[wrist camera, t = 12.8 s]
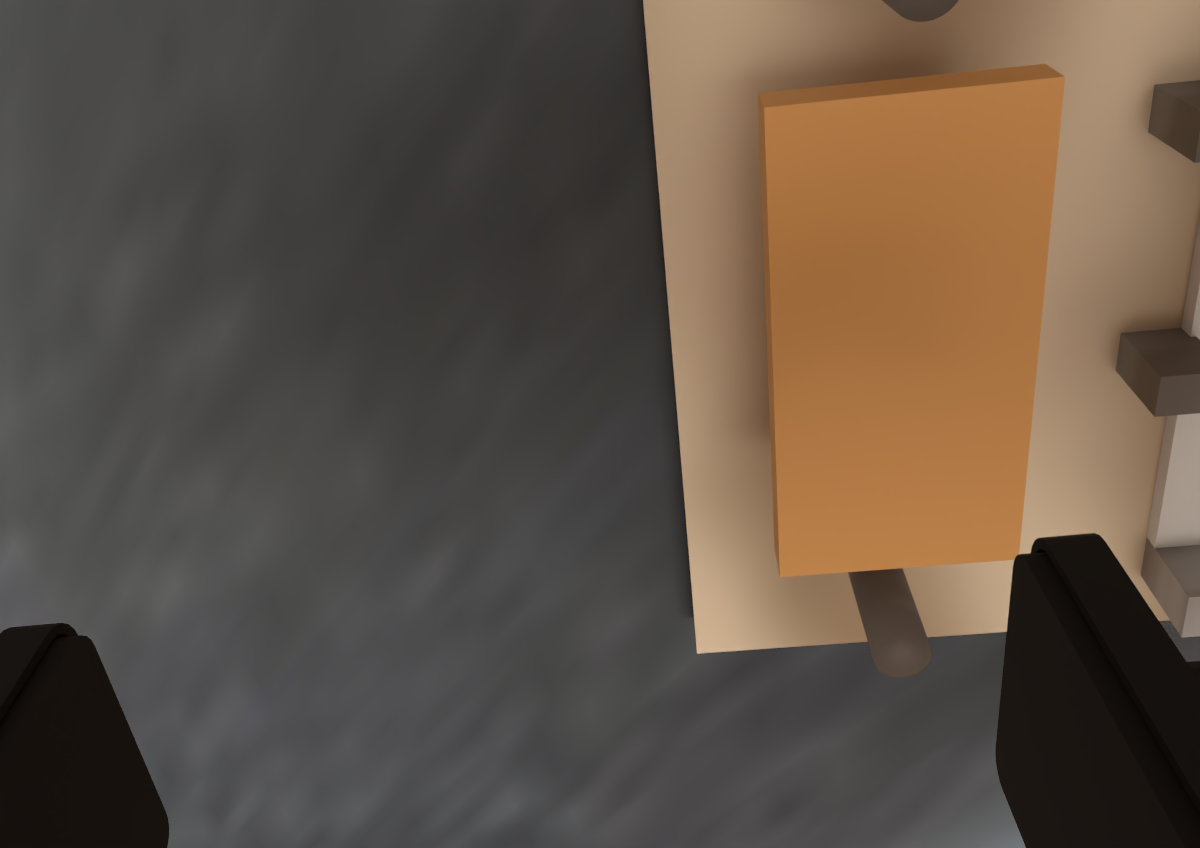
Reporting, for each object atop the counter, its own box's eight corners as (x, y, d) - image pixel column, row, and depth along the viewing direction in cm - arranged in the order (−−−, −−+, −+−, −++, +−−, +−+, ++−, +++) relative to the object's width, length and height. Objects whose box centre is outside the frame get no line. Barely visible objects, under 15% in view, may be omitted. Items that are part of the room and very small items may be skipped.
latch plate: (1045, 63, 16) (1064, 76, 15) (1004, 531, 20) (1018, 559, 19) (757, 92, 16) (764, 107, 15) (774, 549, 20) (779, 576, 19)
